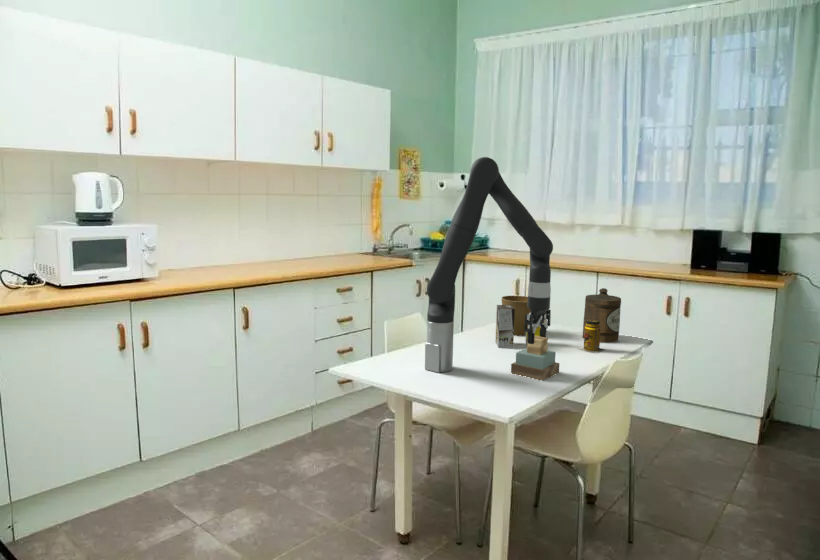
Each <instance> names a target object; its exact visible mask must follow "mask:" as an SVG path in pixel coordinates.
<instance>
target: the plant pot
mask: <svg viewBox="0 0 820 560" xmlns="http://www.w3.org/2000/svg"><path fill="white" fill-rule="evenodd" d="M527 302H528V296H525V295H504V296H503V295H502V296H501V305H512V306H513V307H514V308H515V319H514V336H515V335H517V336H518V337H520V336H519V335H522V336H526V332H525V331H524V326H525V315H526V314H529V313H531V310H530V309H529V308H528V307H527Z"/></svg>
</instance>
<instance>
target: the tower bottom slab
mask: <svg viewBox="0 0 820 560" xmlns="http://www.w3.org/2000/svg"><path fill="white" fill-rule="evenodd" d="M511 373H512V375H515V374H516V376H519V375H521V376H520V377H523V376H526V377H525V378H527V377H530V378H529V379H532V378H534V379H533V380H536V379H538V380H537V381H540V380H544V379H546V378H548V377H550V378H551V376H552V377H554V376H556V375H558V374H559V373H560V363H559V362H556V361H555V363H554V364H552V365H550V366H548V367H547V368H545V369H538V368H533V367H528V366H523V365H518V364H516V361H514V362H513V363H511V364H510V374H511ZM557 373H558V374H557ZM555 374H556V375H555ZM553 375H554V376H553ZM548 379H549V378H548ZM546 380H547V379H546ZM544 381H545V380H544Z"/></svg>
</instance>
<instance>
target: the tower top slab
mask: <svg viewBox="0 0 820 560" xmlns="http://www.w3.org/2000/svg"><path fill="white" fill-rule="evenodd" d="M515 362H516V364H518V365H523V366H528V367H533V368H538V369H545V368H547V367H548V366H550V365H552V364H554V363H555V362H556V351H554V350H548V349H547V352H546V353H544V354H542V355H537V354H532V353H528V352H527V347H526V348H524V349H521V350H519V351H517V352H515Z"/></svg>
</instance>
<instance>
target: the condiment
mask: <svg viewBox="0 0 820 560" xmlns="http://www.w3.org/2000/svg"><path fill="white" fill-rule="evenodd" d="M600 344H601V343H600V321H598V320H586V327H585V331H584V338H583V348H580V349H579V351H580V350H581V351H584V352H589V353H595V354H596V353H597V354H598V353H600V352H603V351H605V350H606V348H603V347H601V345H600Z"/></svg>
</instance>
